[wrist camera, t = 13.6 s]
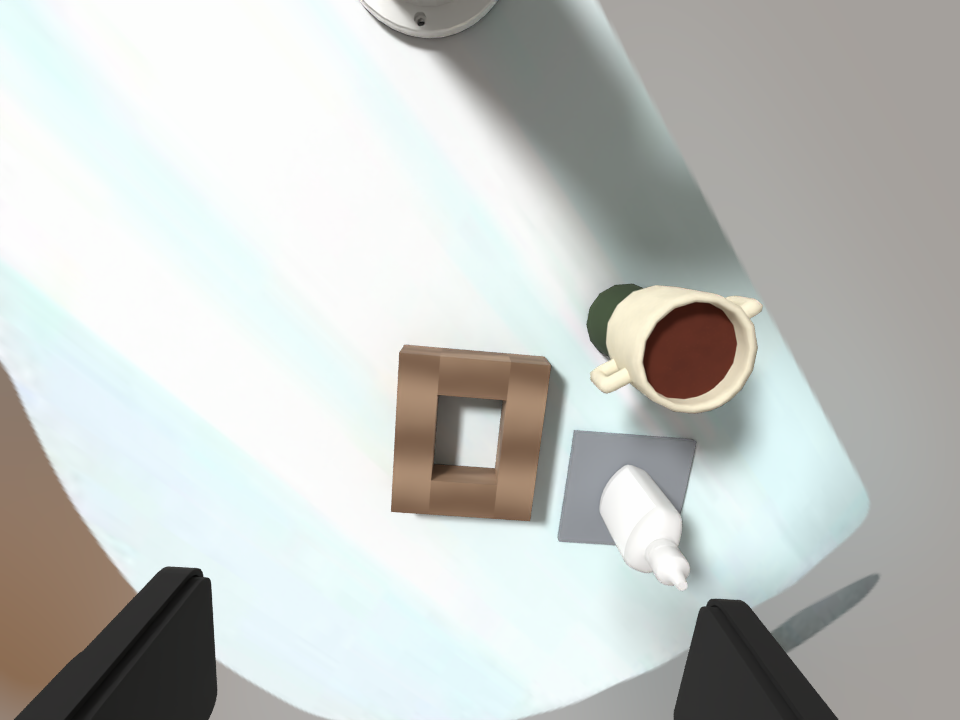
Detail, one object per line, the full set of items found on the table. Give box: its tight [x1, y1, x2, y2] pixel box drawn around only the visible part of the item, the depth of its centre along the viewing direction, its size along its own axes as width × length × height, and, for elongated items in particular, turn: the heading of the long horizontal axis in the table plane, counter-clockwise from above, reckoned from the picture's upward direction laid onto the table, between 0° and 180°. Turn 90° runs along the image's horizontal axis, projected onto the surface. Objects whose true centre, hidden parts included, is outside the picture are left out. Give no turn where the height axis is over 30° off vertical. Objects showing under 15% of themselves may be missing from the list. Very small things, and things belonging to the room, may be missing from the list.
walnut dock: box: [391, 345, 551, 521], centre depth 38 cm, size 14×12×3 cm
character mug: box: [587, 284, 763, 414], centre depth 32 cm, size 11×7×13 cm, turn 120°
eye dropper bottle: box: [599, 465, 690, 591], centre depth 35 cm, size 4×6×12 cm
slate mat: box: [558, 430, 696, 545], centre depth 42 cm, size 11×11×1 cm
